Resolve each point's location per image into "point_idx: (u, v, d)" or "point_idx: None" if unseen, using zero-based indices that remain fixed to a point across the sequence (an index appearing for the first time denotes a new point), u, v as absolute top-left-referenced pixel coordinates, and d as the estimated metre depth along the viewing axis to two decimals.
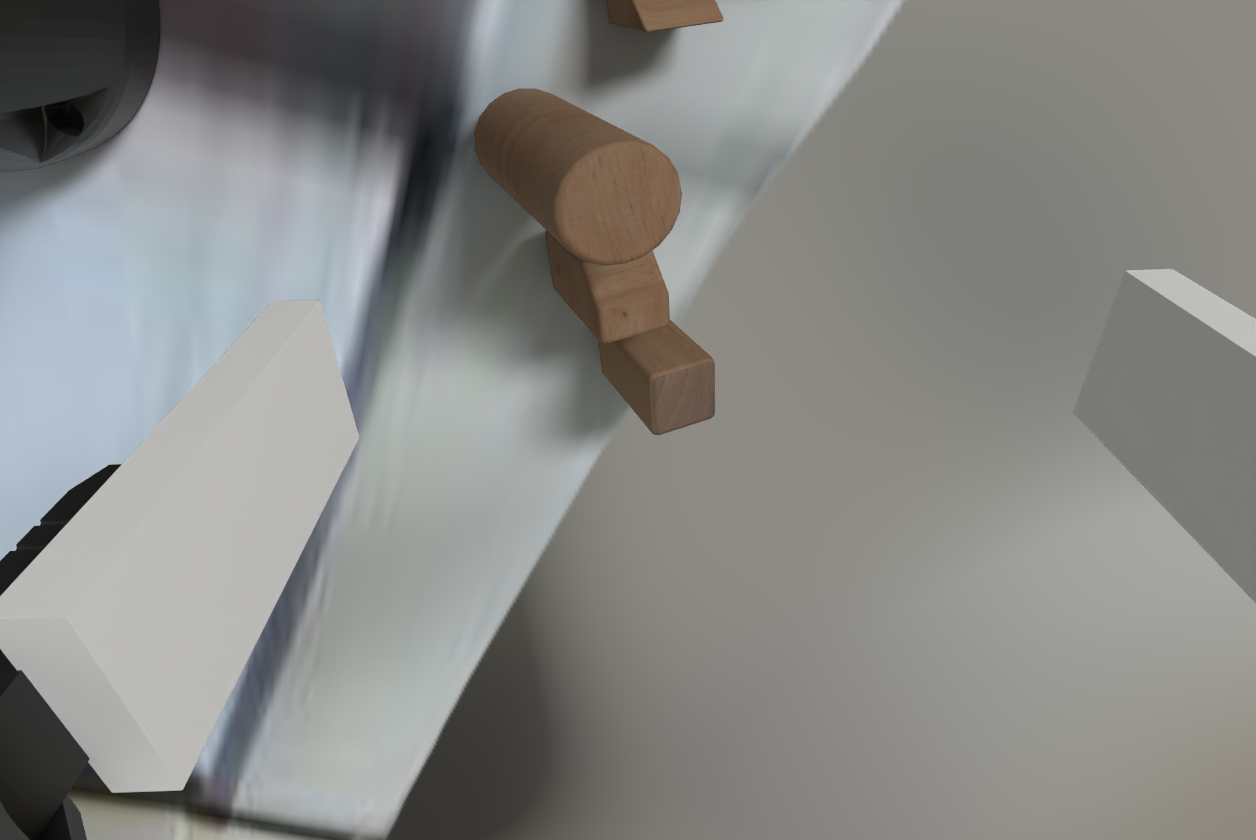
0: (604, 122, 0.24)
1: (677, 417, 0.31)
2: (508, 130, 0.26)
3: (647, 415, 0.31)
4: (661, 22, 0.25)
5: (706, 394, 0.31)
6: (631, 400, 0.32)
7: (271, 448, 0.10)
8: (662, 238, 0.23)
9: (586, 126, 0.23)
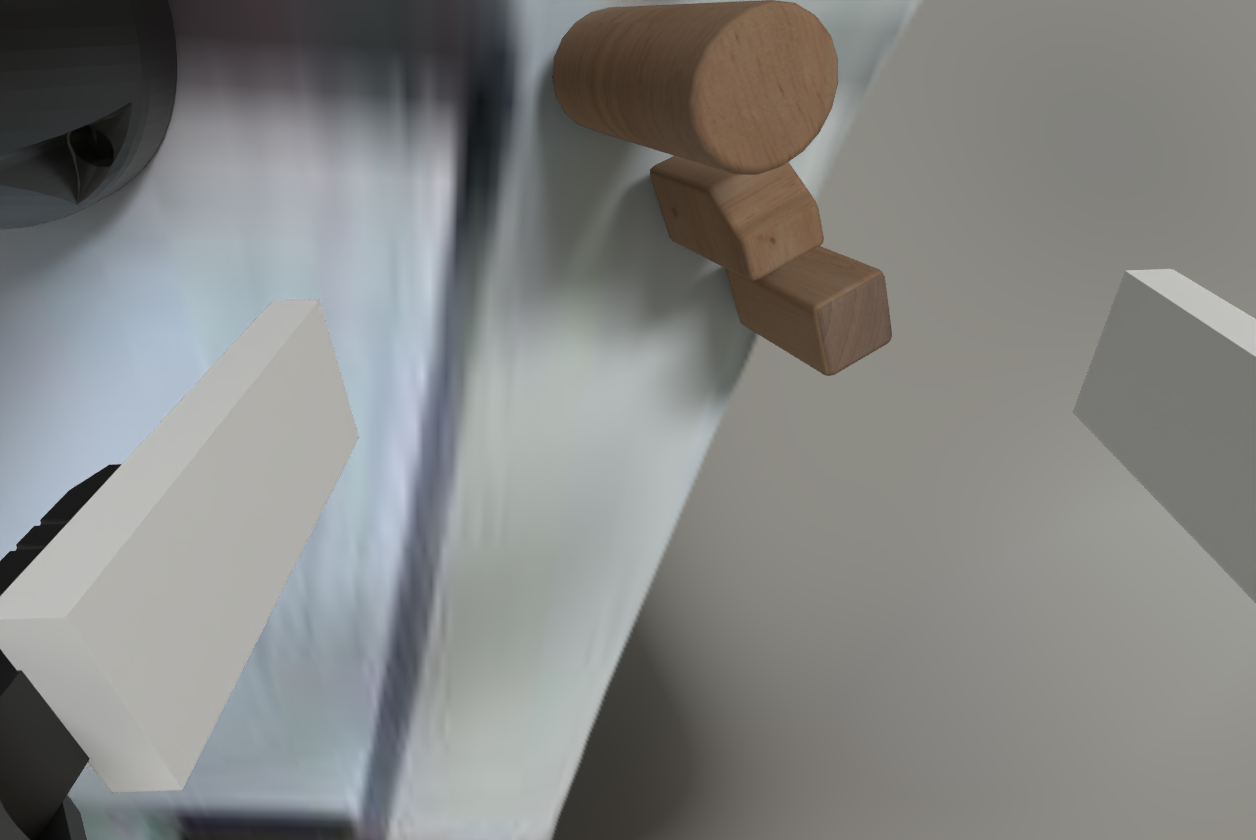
0: None
1: (851, 349, 0.26)
2: (597, 54, 0.22)
3: (815, 354, 0.26)
4: None
5: (880, 315, 0.26)
6: (788, 344, 0.28)
7: (271, 448, 0.10)
8: (822, 123, 0.19)
9: (700, 9, 0.19)
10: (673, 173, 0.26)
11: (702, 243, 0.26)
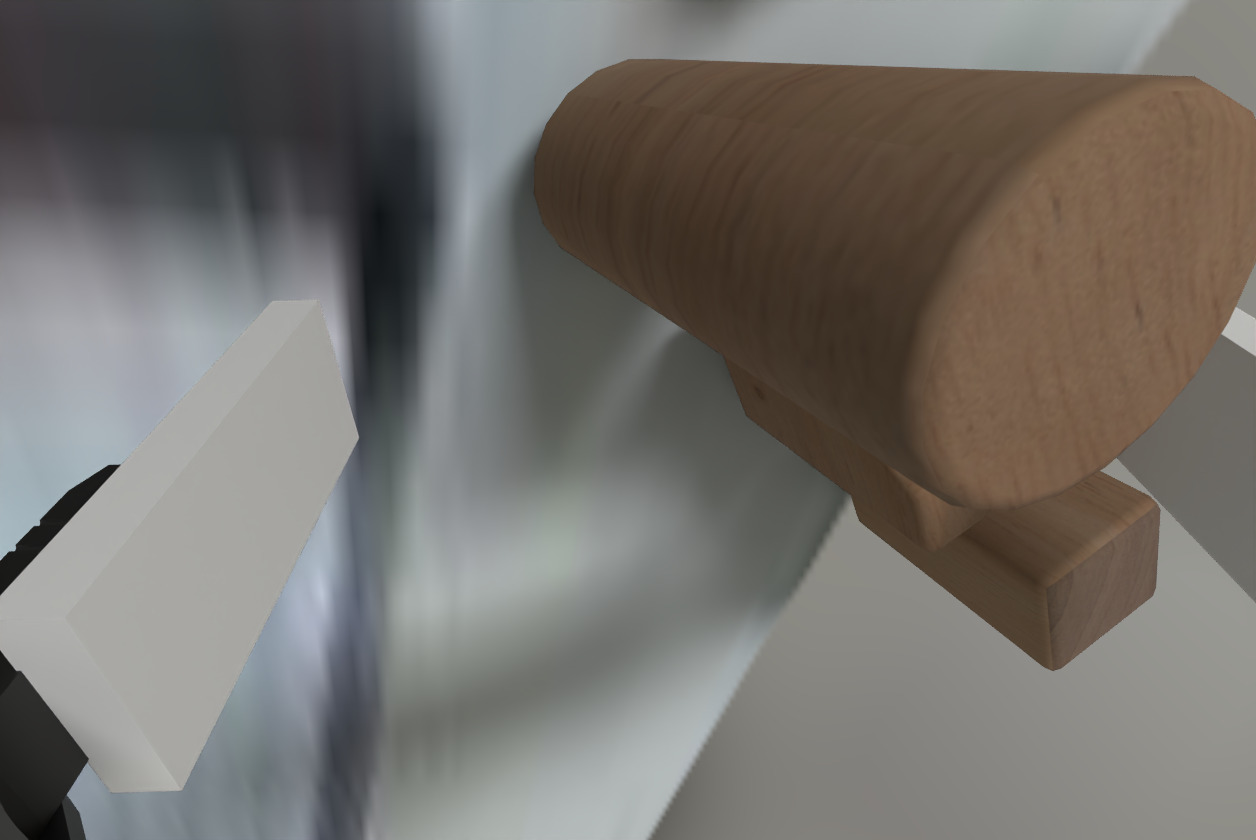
0: (889, 67, 0.08)
1: (1094, 628, 0.15)
2: (615, 172, 0.11)
3: (1029, 639, 0.15)
4: None
5: (1145, 567, 0.14)
6: (964, 595, 0.16)
7: (271, 448, 0.10)
8: (1204, 358, 0.07)
9: (879, 94, 0.07)
10: None
11: (815, 455, 0.15)
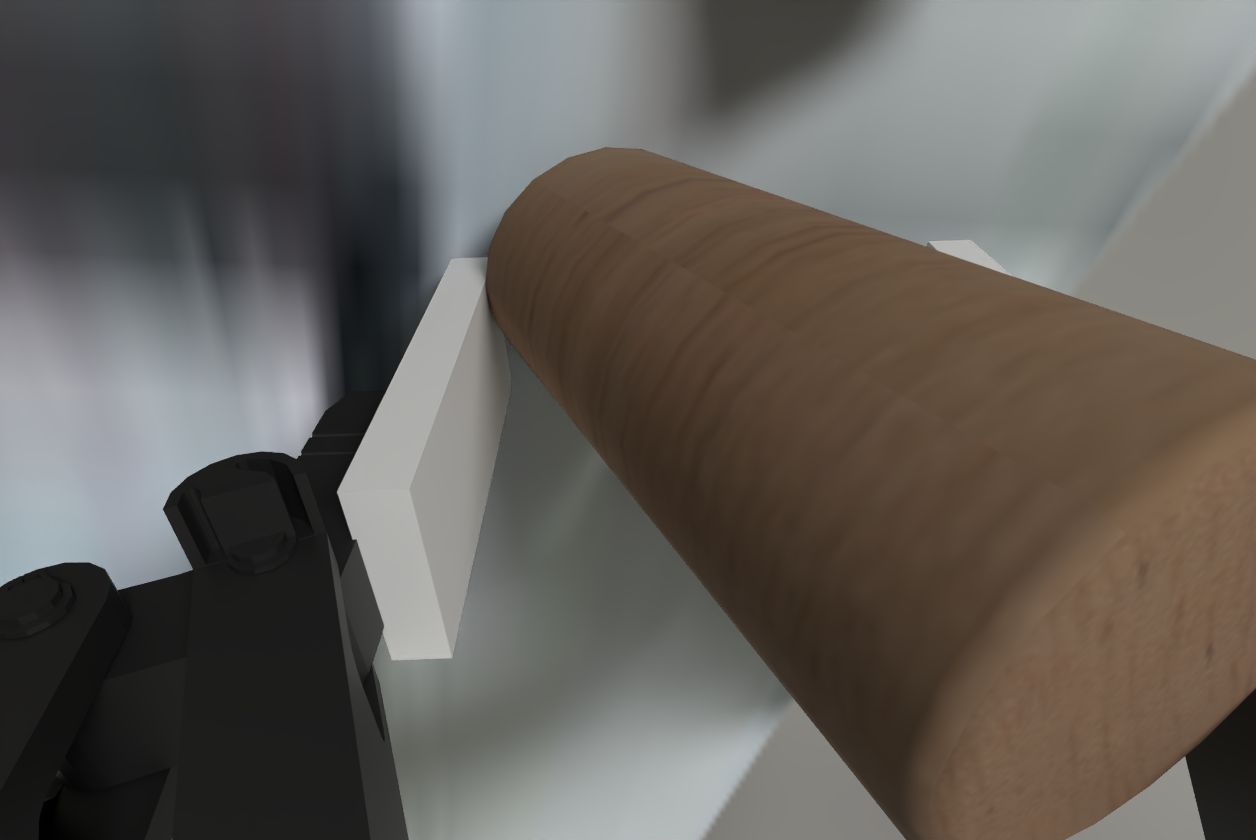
0: (908, 249, 0.07)
1: None
2: (572, 303, 0.09)
3: None
4: None
5: None
6: None
7: (478, 382, 0.11)
8: None
9: (899, 311, 0.06)
10: None
11: None
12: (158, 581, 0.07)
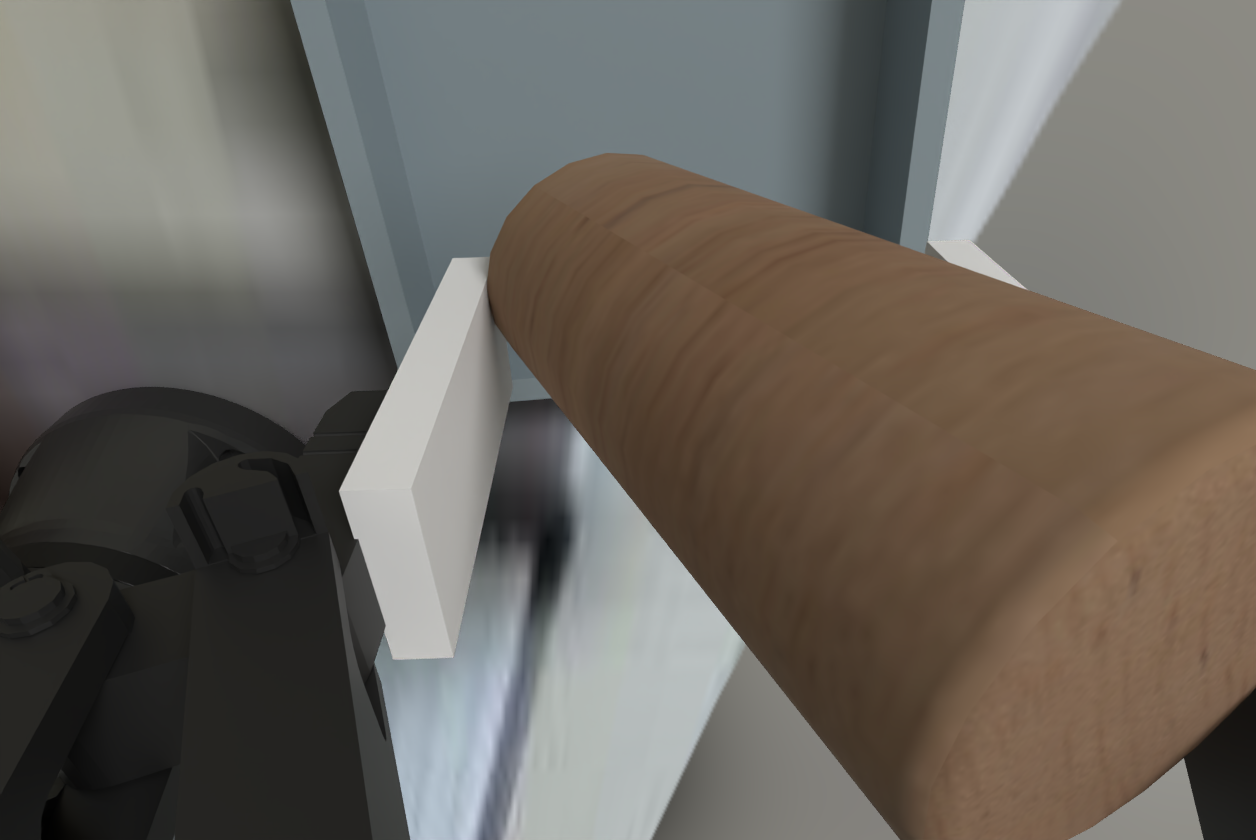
0: (906, 256, 0.07)
1: None
2: (573, 310, 0.09)
3: None
4: None
5: None
6: None
7: (479, 381, 0.11)
8: None
9: (897, 318, 0.06)
10: None
11: None
12: (160, 581, 0.07)
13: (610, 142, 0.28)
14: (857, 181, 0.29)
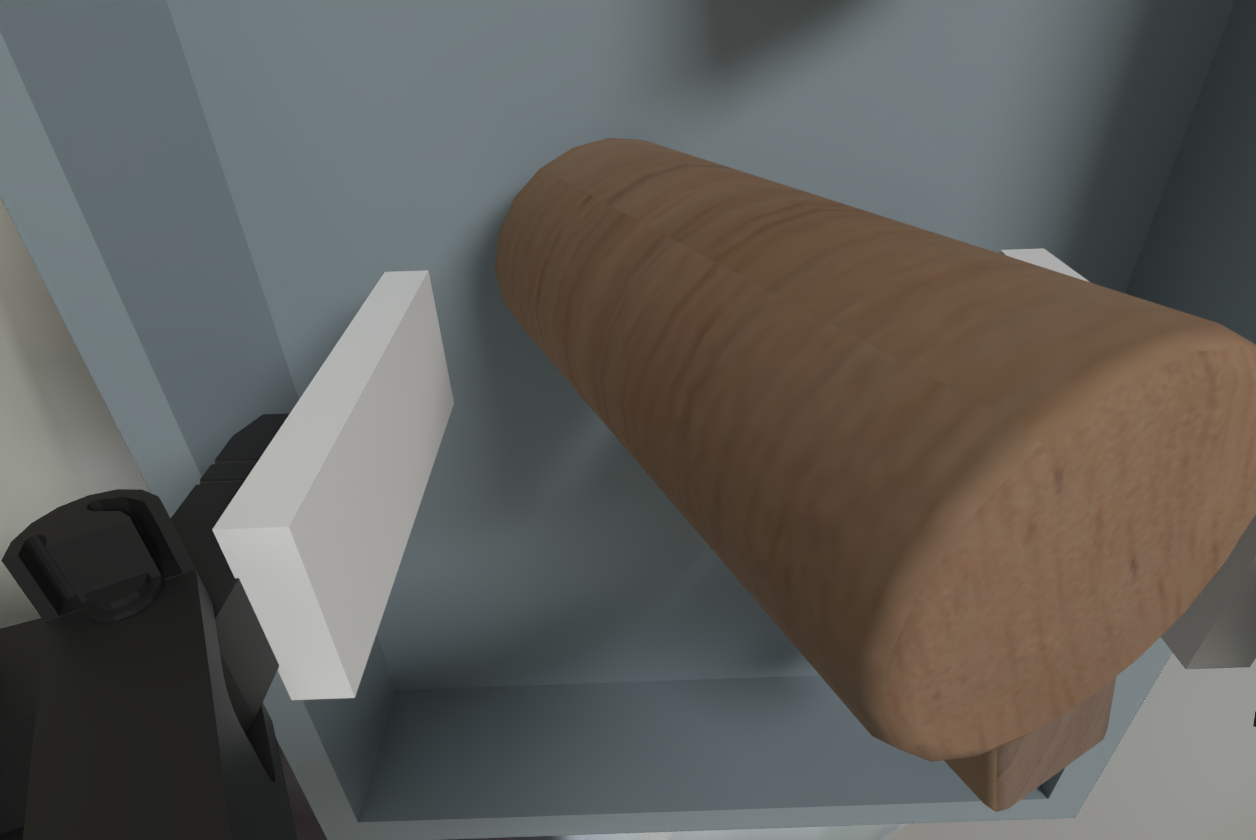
0: (881, 222, 0.08)
1: (1042, 773, 0.14)
2: (577, 278, 0.10)
3: (975, 778, 0.14)
4: None
5: (1099, 713, 0.14)
6: None
7: (401, 402, 0.11)
8: (1195, 595, 0.07)
9: (867, 272, 0.06)
10: None
11: None
12: (21, 625, 0.07)
13: (652, 485, 0.18)
14: None
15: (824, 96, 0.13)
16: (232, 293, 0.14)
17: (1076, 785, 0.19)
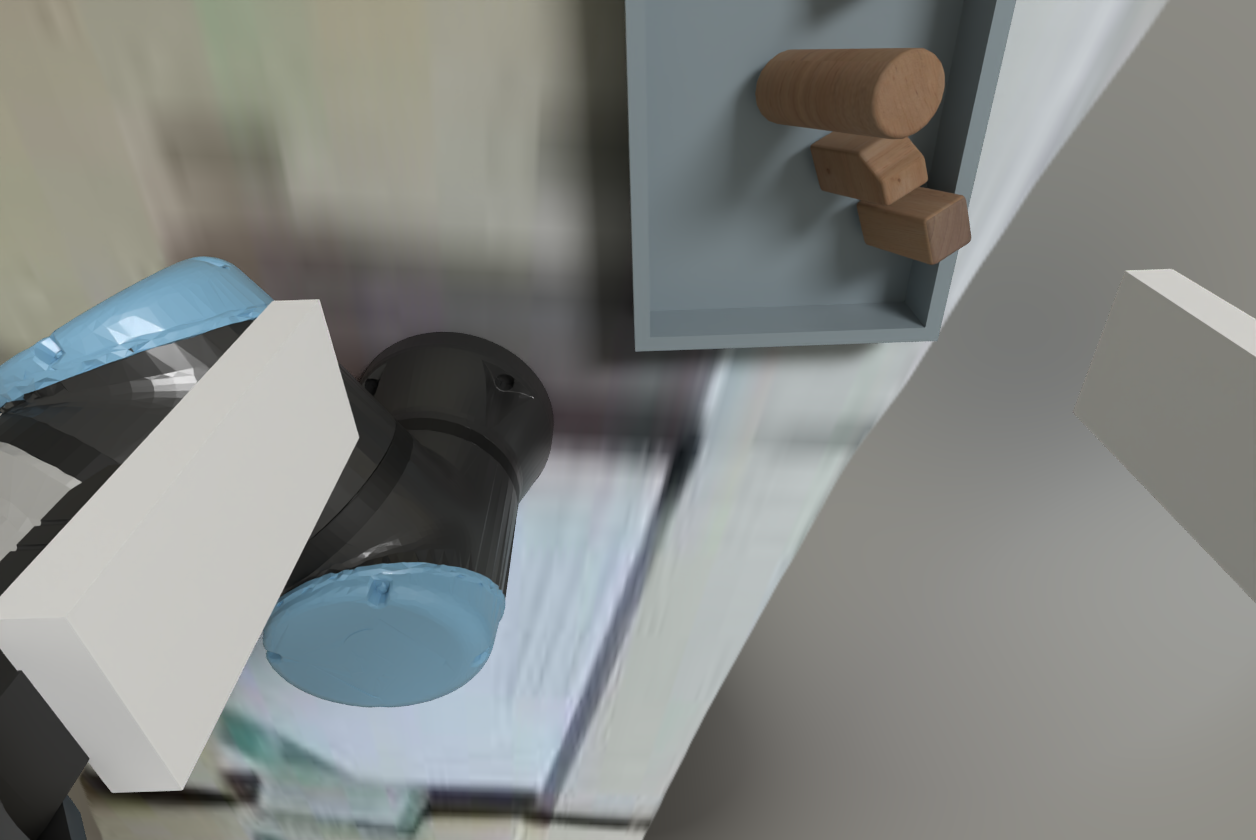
0: (871, 48, 0.36)
1: (947, 246, 0.42)
2: (796, 79, 0.38)
3: (924, 251, 0.42)
4: None
5: (964, 224, 0.42)
6: (904, 249, 0.44)
7: (271, 448, 0.10)
8: (936, 108, 0.35)
9: (868, 53, 0.35)
10: (829, 146, 0.42)
11: (849, 188, 0.42)
12: None
13: (769, 197, 0.47)
14: None
15: (837, 41, 0.42)
16: None
17: (935, 319, 0.47)
